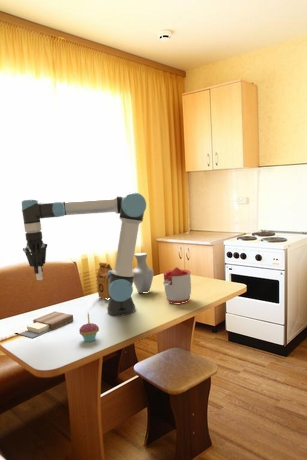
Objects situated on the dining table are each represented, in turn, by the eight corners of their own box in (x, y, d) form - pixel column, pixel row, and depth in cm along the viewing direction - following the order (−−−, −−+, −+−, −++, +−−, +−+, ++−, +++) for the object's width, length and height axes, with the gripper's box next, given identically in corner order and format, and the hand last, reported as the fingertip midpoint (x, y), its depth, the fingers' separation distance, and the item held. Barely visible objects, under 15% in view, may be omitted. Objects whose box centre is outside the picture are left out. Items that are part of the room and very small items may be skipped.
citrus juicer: (157, 303, 206) (154, 268, 204) (178, 295, 217) (176, 263, 215) (176, 308, 194) (174, 272, 192) (198, 300, 205) (196, 266, 203)
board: (73, 320, 187) (72, 314, 186) (51, 330, 175) (51, 324, 175) (55, 316, 195) (55, 311, 194) (33, 325, 183) (33, 319, 183)
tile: (49, 328, 176) (48, 324, 176) (39, 333, 171) (38, 329, 171) (37, 325, 181) (37, 322, 181) (27, 330, 176) (26, 326, 176)
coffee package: (106, 301, 215) (102, 265, 213) (96, 297, 225) (93, 263, 223) (120, 298, 221) (117, 262, 219) (110, 294, 231) (107, 260, 229)
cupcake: (81, 336, 164) (79, 311, 163) (100, 334, 165) (97, 309, 164) (79, 344, 156) (76, 317, 155) (99, 342, 156) (96, 315, 155)
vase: (129, 292, 233) (126, 254, 231) (149, 288, 239) (146, 251, 237) (137, 297, 220) (134, 256, 218) (158, 293, 226) (156, 253, 224)
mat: (51, 330, 175) (51, 329, 175) (32, 338, 166) (32, 337, 166) (33, 325, 183) (33, 324, 183) (14, 333, 174) (14, 332, 174)
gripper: (39, 230, 181) (45, 275, 183) (16, 233, 170) (23, 282, 172) (49, 229, 176) (55, 276, 179) (27, 233, 166) (33, 283, 168)
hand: (39, 279), depth 176 cm, fingers closed
